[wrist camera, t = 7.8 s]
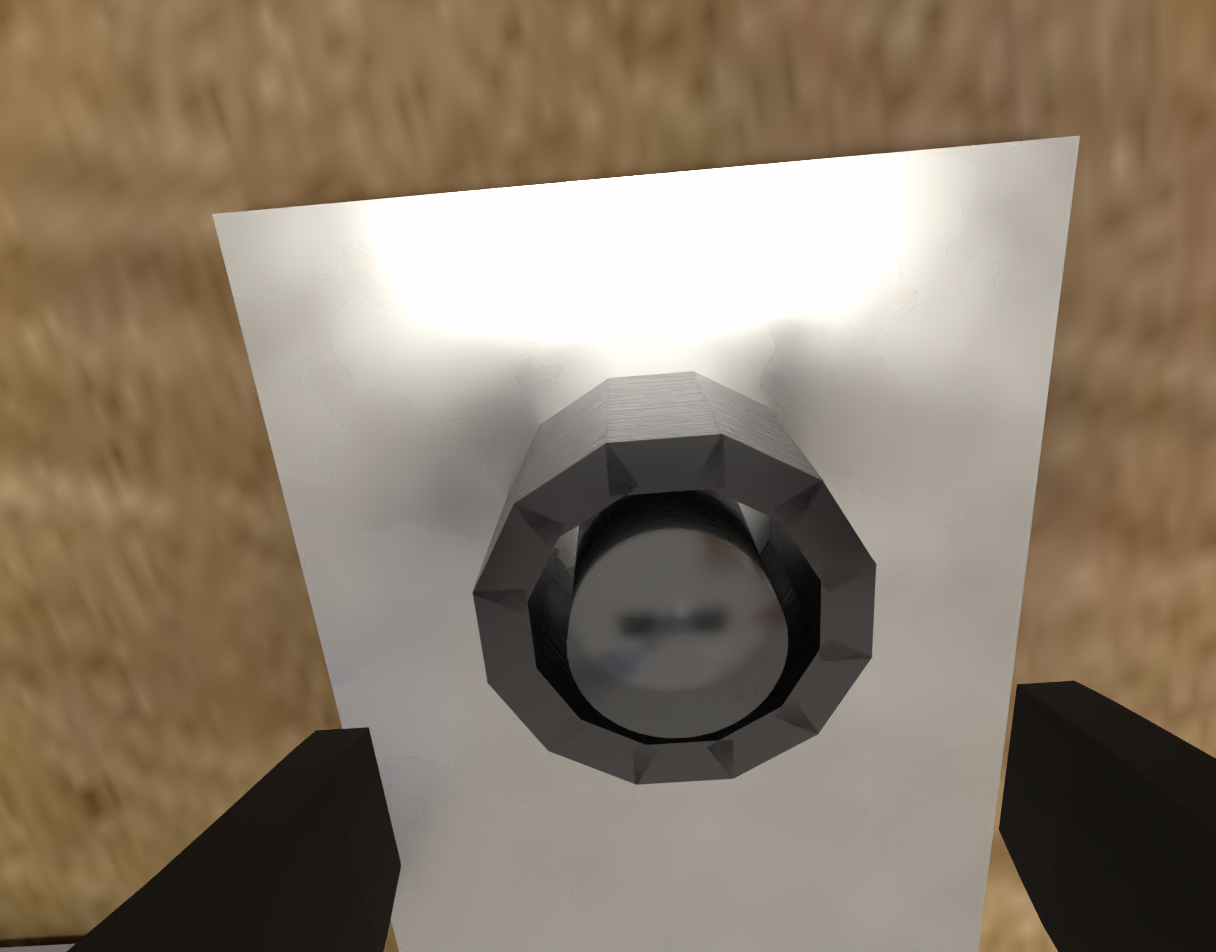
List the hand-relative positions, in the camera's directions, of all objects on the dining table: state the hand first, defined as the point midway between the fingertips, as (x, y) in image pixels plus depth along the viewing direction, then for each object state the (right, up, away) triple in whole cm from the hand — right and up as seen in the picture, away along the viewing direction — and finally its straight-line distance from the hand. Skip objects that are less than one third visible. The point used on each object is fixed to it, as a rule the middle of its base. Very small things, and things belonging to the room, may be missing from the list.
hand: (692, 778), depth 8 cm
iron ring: (0, +3, +7) cm, 7 cm away
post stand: (0, -1, +9) cm, 9 cm away
